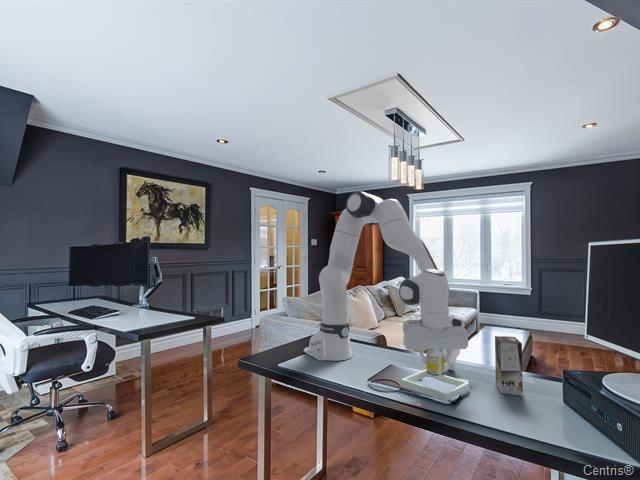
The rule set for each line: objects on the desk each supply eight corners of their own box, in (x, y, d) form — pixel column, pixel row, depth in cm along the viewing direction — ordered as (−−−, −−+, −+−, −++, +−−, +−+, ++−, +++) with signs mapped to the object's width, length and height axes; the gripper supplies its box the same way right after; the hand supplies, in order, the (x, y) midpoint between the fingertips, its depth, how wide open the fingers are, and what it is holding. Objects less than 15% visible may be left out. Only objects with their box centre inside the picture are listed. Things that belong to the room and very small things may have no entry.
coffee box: (523, 396, 105) (522, 343, 106) (500, 393, 107) (499, 341, 108) (516, 385, 114) (515, 336, 115) (495, 382, 116) (494, 334, 116)
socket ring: (362, 384, 115) (362, 383, 115) (382, 376, 122) (382, 376, 122) (387, 395, 106) (387, 394, 106) (408, 386, 113) (408, 385, 113)
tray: (401, 388, 111) (401, 379, 112) (425, 377, 120) (425, 369, 121) (446, 405, 99) (446, 394, 99) (469, 392, 108) (469, 382, 108)
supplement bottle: (439, 371, 113) (439, 341, 113) (447, 377, 108) (447, 346, 108) (423, 372, 112) (423, 342, 113) (431, 378, 107) (431, 347, 107)
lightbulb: (460, 368, 130) (460, 339, 130) (459, 374, 124) (459, 343, 124) (442, 366, 132) (442, 337, 133) (441, 371, 126) (440, 341, 127)
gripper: (405, 321, 107) (405, 366, 107) (469, 321, 108) (470, 365, 107) (400, 317, 114) (400, 359, 113) (461, 317, 114) (462, 359, 114)
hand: (435, 362), depth 110 cm, fingers closed on supplement bottle, 5 cm apart
